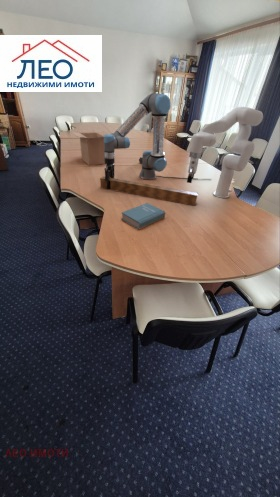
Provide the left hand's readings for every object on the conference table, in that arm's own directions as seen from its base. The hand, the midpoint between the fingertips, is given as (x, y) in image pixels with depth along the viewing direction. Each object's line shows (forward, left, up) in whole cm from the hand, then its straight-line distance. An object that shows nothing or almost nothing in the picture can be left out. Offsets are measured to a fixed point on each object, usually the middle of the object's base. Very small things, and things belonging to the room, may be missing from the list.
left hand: (110, 187), depth 178 cm
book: (-21, +51, -1) cm, 55 cm away
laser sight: (-41, -71, -1) cm, 82 cm away
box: (+18, -76, -1) cm, 78 cm away
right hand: (-56, +25, +16) cm, 64 cm away
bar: (-28, +13, -1) cm, 31 cm away
